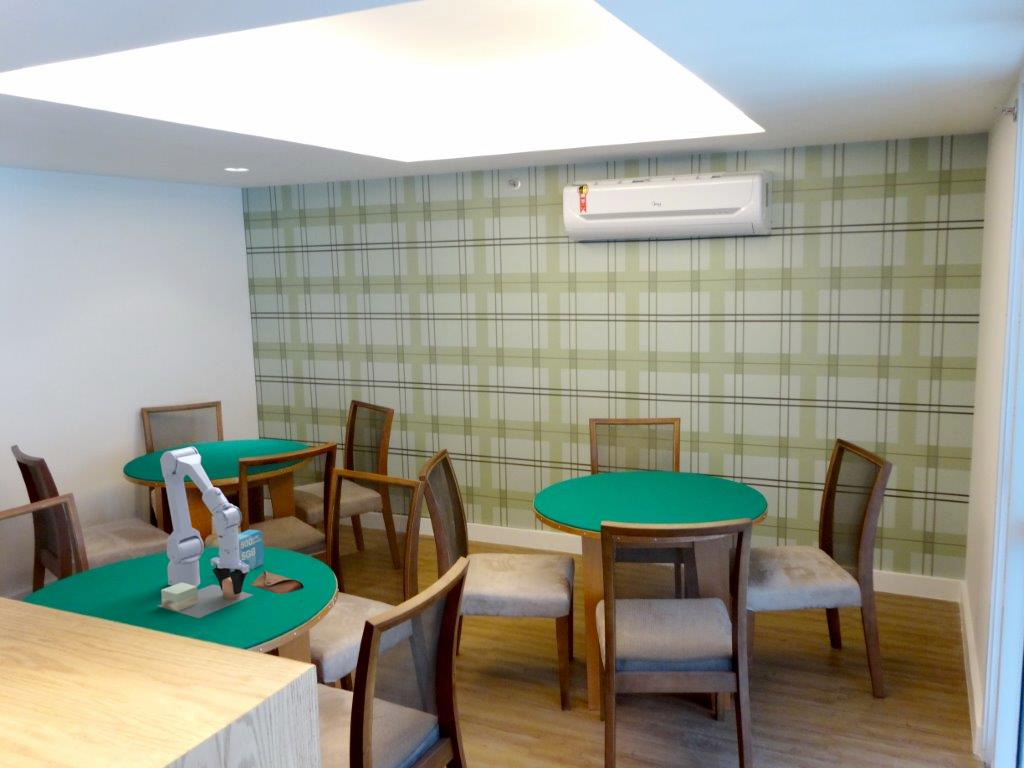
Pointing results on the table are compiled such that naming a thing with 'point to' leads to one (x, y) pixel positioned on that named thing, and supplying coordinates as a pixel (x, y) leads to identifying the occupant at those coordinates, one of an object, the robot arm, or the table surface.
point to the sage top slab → (179, 592)
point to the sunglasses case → (276, 583)
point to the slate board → (209, 602)
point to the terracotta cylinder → (228, 589)
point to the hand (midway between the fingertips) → (231, 591)
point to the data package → (251, 548)
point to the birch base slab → (180, 603)
